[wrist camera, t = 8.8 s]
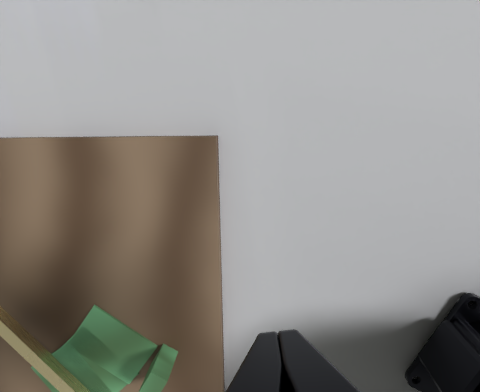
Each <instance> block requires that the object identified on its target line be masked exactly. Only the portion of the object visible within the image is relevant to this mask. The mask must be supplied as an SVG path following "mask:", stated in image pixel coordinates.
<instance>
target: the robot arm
mask: <svg viewBox="0 0 480 392" xmlns="http://www.w3.org/2000/svg"><path fill="white" fill-rule="evenodd" d="M470 301H473V303H472V304H471V305H468V303H469V302H470ZM416 376H417V378H416V379H412V378H413V377H416ZM405 378H406V380H407V382H408V384H409V385H410V386H411V387H413V388H415V389H417V390H419V391H421V392H480V297H478V296H477V295H475V294H472V293H467V294H464V295H463V296H462V297H461V298H460V299H459V300H458V302H457V303H456V305H455V306H454V307H453V309H452V310H451V311H450V313H449V314H448V316H447V317H446V318H445V320H444V321H443V322H442V323H441V324H440V326H439V327H438V328H437V330H436V331H435V332H434V334H433V335H432V336H431V338H430V339H429V341H428V342H427V343H426V345H425V346H424V347H423V349H422V350H421V351H420V353H419V355H418V357H417V358H416V359H415V361H414V362H413V363H412V365H411V366H410V367H409V369H408V370H407V372H406V374H405ZM226 392H360V391H359V390H358V389H357V388H356V387H355V386H354V385H353V384H352V383H351V382H349V381H348V380H347V379H346V378H345V377H344V376H343V375H342V374H341V373H340V372H339V371H338V370H337V369H336V368H335V367H334V366H333V365H332V364H331V363H330V362H329V361H328V360H327V359H326V358H325V357H324V356H323V355H322V354H321V353H320V352H319V351H318V350H317V349H316V348H315V347H314V346H313V345H312V344H310V343H309V342H308V341H307V340H306V339H305V338H304V337H303V336H302V335H301V334H300V333H299V332H298V331H297V330H295V329H293V330H284V331H280V332H279V333H278V334H277V333H276V332H266V333H260V334H259V335H258V336H257V338H256V340H255V342H254V343H253V345H252V347H251V349H250V350H249V352H248V354H247V356H246V357H245V359H244V361H243V363H242V364H241V366H240V368H239V370H238V372H237V373H236V375H235V377H234V379H233V380H232V382H231V384H230V386H229V387H228V389H227V391H226Z"/></svg>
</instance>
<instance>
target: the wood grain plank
mask: <svg viewBox="0 0 480 392" xmlns="http://www.w3.org/2000/svg"><path fill="white" fill-rule="evenodd" d="M0 336H1V337H2V338H3V339H4V340H5V341H6V342H7V343H8V344H9V345H10V346H12V347H13V348H14V349H15V350H16V351H17V352H18V353H19V354H20V355H21V356H22V357H23V358H24V359H25V360H26V361H27V362H29V363H30V364H31V365H32V366H33V367H34V368H35V369H36V370H37V371H38V372H39V373H40V374H41V375H42V376H43V377H44V378H45V379H47V380H48V381H49V382H50V383H51V384H52V385H53V386H54V387H55V388H56V389H57V390H58V391H59V392H90V391H89V390H88V389H87V388H86V387H85V386H84V385H83V384H82V383H81V382H80V381H79V380H78V379H77V378H75V377H74V376H73V375H72V374H71V373H70V372H69V371H68V370H67V369H66V368H65V367H64V366H63V365H62V364H61V363H60V362H59V361H58V360H57V359H56V358H55V357H54V356H53V355H51V354H50V353H49V352H48V351H47V350H46V349H45V348H44V347H43V346H42V345H41V344H40V343H39V342H38V341H37V340H36V339H35V338H34V337H33V336H32V335H31V334H30V333H29V332H27V331H26V330H25V329H24V328H23V327H22V326H21V325H20V324H19V323H18V322H17V321H16V320H15V319H14V318H13V317H12V316H11V315H10V314H9V313H8V312H7V311H6V310H5V309H3V308H2V307H1V306H0Z"/></svg>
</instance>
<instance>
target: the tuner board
mask: <svg viewBox="0 0 480 392" xmlns="http://www.w3.org/2000/svg"><path fill="white" fill-rule="evenodd" d="M0 306H1V307H2V308H3V309H5V310H6V311H7V312H8V313H9V314H10V315H11V316H12V317H13V318H14V319H15V320H16V321H17V322H18V323H19V324H20V325H21V326H22V327H23V328H24V329H25V330H26V331H27V332H29V333H30V334H31V335H32V336H33V337H34V338H35V339H36V340H37V341H38V342H39V343H40V344H41V345H42V346H43V347H44V348H45V349H46V350H47V351H48V352H49V353H50V354H51V355H53V356H54V357H55V358H56V359H57V360H58V361H59V362H60V363H61V364H62V365H63V366H64V367H65V368H66V369H67V370H68V371H69V372H70V373H71V374H72V375H73V376H74V377H75V378H77V379H78V380H79V381H80V382H81V383H82V384H83V385H84V386H85V387H86V388H87V389H88V390H89V391H90V392H225V389H224V350H223V312H222V273H221V235H220V196H219V157H218V136H127V137H27V138H0ZM0 392H59V391H58V390H57V389H56V388H55V387H54V386H53V385H52V384H51V383H50V382H49V381H48V380H47V379H45V378H44V377H43V376H42V375H41V374H40V373H39V372H38V371H37V370H36V369H35V368H34V367H33V366H32V365H31V364H30V363H29V362H27V361H26V360H25V359H24V358H23V357H22V356H21V355H20V354H19V353H18V352H17V351H16V350H15V349H14V348H13V347H12V346H10V345H9V344H8V343H7V342H6V341H5V340H4V339H3V338H2V337H1V336H0Z"/></svg>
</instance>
